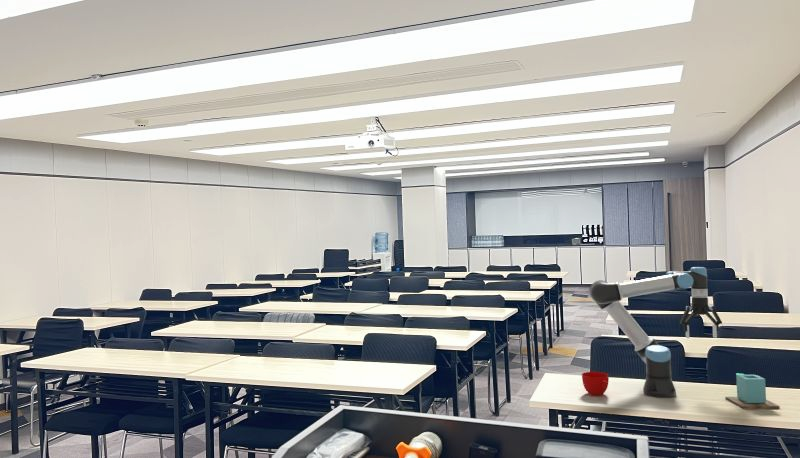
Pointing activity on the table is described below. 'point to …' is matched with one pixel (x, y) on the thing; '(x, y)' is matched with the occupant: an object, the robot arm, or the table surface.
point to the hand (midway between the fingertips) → (701, 337)
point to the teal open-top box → (751, 388)
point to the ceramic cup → (595, 382)
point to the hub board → (752, 404)
